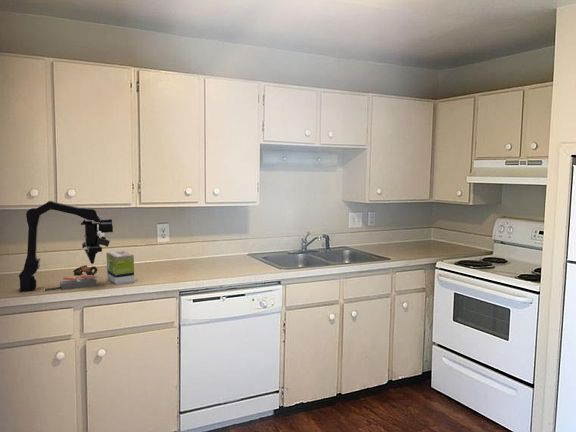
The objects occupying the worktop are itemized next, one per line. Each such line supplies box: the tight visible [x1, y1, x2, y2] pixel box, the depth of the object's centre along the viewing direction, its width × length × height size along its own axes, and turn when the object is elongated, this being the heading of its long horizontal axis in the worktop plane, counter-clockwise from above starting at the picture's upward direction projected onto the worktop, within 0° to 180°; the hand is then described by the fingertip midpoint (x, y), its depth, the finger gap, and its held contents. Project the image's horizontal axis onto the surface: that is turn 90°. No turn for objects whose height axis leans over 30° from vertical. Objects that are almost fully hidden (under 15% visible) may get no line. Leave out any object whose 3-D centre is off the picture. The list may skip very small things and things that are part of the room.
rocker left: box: [62, 275, 78, 281], centre depth 233 cm, size 6×3×1 cm, turn 124°
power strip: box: [44, 277, 98, 292], centre depth 233 cm, size 23×6×3 cm, turn 123°
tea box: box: [106, 250, 135, 285], centre depth 248 cm, size 15×10×15 cm, turn 37°
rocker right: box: [79, 274, 95, 279], centre depth 237 cm, size 6×3×1 cm, turn 123°
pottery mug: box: [73, 264, 98, 279], centre depth 253 cm, size 12×10×8 cm
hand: (92, 263), depth 238 cm, fingers closed
